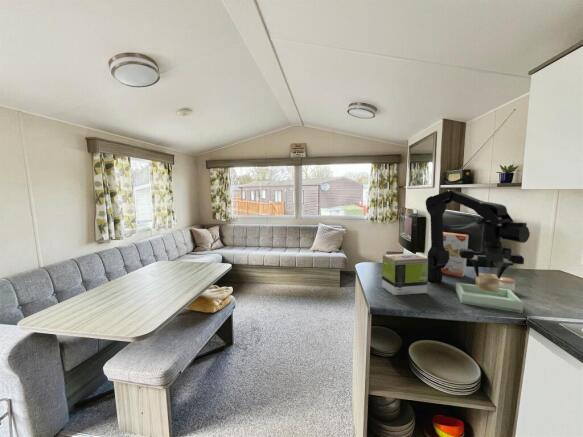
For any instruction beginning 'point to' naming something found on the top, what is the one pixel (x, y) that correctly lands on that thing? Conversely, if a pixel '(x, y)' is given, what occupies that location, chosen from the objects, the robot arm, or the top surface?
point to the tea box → (405, 274)
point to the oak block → (487, 282)
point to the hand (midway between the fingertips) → (487, 277)
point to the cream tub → (507, 283)
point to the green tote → (489, 298)
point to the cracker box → (455, 253)
